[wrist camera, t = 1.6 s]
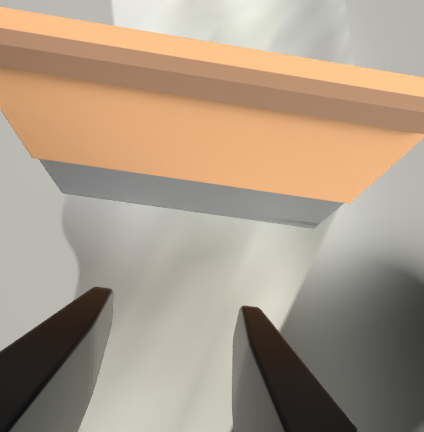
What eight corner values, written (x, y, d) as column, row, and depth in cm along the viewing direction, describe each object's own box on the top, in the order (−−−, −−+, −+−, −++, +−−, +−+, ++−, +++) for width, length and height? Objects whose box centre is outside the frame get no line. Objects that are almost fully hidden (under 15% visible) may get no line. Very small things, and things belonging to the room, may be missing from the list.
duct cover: (349, 189, 20) (350, 214, 19) (37, 143, 19) (28, 168, 18) (458, 83, 12) (465, 119, 12) (-51, -2, 11) (-69, 33, 11)
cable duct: (314, 228, 24) (348, 199, 19) (62, 193, 23) (34, 153, 19) (316, 115, 27) (346, 67, 22) (93, 80, 26) (75, 21, 22)
